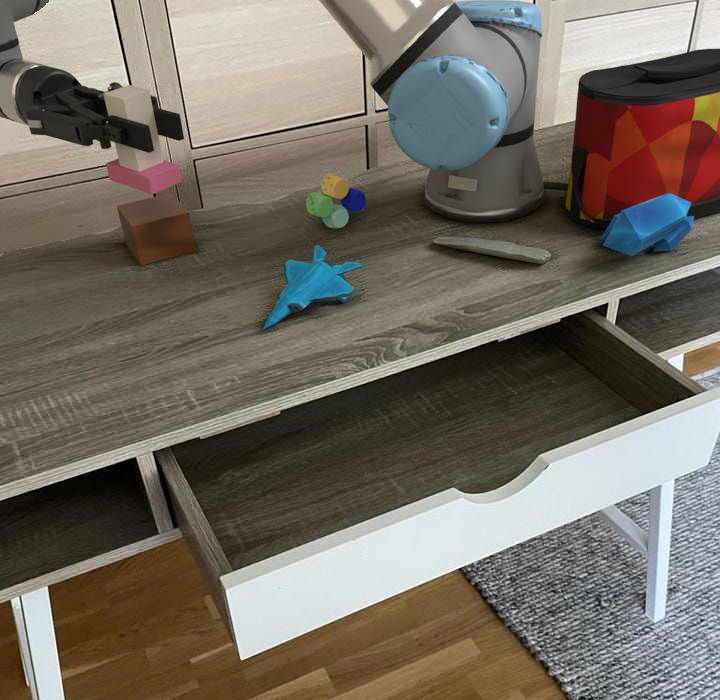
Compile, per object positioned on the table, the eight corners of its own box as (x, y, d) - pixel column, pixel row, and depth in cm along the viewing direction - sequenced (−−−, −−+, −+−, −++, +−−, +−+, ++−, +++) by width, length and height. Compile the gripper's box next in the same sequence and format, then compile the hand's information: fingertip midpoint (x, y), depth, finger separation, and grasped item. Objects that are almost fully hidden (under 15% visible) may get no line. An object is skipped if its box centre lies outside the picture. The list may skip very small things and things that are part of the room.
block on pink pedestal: (182, 181, 101) (165, 92, 94) (152, 194, 98) (132, 103, 92) (139, 167, 105) (120, 80, 98) (109, 179, 102) (87, 91, 96)
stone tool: (558, 245, 99) (544, 256, 95) (557, 257, 100) (542, 269, 96) (446, 228, 105) (428, 238, 101) (445, 240, 106) (427, 250, 102)
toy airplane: (291, 277, 99) (286, 243, 96) (374, 279, 97) (371, 245, 95) (262, 331, 91) (256, 295, 88) (353, 334, 89) (350, 298, 86)
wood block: (179, 230, 111) (171, 192, 107) (196, 251, 106) (188, 212, 102) (126, 243, 108) (116, 205, 105) (141, 265, 104) (131, 226, 100)
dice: (356, 211, 112) (353, 162, 108) (369, 217, 110) (366, 167, 106) (306, 230, 109) (300, 179, 104) (318, 236, 107) (313, 186, 103)
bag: (719, 159, 118) (748, 27, 108) (796, 193, 109) (836, 52, 98) (532, 204, 110) (543, 66, 99) (597, 246, 100) (617, 98, 90)
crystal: (718, 244, 96) (624, 289, 95) (673, 229, 103) (585, 271, 103) (709, 179, 92) (610, 226, 91) (662, 169, 99) (571, 212, 99)
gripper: (104, 110, 114) (225, 144, 102) (-7, 149, 105) (111, 192, 92) (90, 48, 109) (215, 77, 97) (-29, 84, 100) (93, 120, 88)
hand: (164, 133), depth 95 cm, fingers closed on block on pink pedestal, 4 cm apart
